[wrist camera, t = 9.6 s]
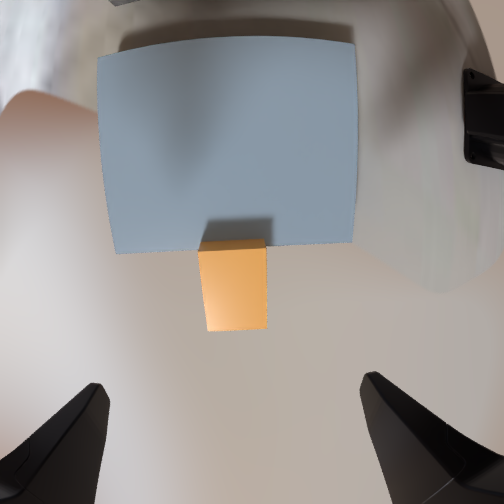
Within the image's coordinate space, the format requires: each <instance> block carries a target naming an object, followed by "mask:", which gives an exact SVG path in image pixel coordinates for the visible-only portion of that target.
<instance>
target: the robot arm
mask: <svg viewBox="0 0 504 504" xmlns="http://www.w3.org/2000/svg"><path fill="white" fill-rule="evenodd" d="M463 75H464V88H465V119H466V124H465V159H466V161H467V162H469V163H472V164H477V165H482V166H487V167H492V168H496V169H501V170H504V84H502V83H500V82H498V81H496V80H494V79H492V78H490V77H488V76H486V75H484V74H482V73H480V72H478V71H476V70H473V69H470V68H469V69H465V70H464V73H463ZM470 76H471V77H470ZM471 154H472V157H471ZM360 396H361V401H362V405H363V410H364V414H365V418H366V422H367V427H368V431H369V434H370V437H371V440H372V443H373V445H374V448H375V451H376V454H377V457H378V460H379V463H380V466H381V469H382V472H383V475H384V478H385V481H386V484H387V487H388V490H389V494H390V497H391V500H392V503H393V504H504V456H503V455H500V454H497V453H495V452H493V451H491V450H489V449H488V448H486V447H484V446H482V445H480V444H478V443H477V442H475V441H473V440H471V439H470V438H468V437H466V436H464V435H463V434H462V433H460V432H458V431H457V430H456V429H454V428H453V427H451V426H450V425H448V424H446V422H444V421H443V420H442V419H440V418H439V417H438V416H436V415H435V414H433V413H432V412H431V411H429V410H428V409H427V408H425V407H424V406H423V405H421V404H420V403H418V402H417V401H416V400H414V399H413V398H412V397H410V396H409V395H408V394H406V393H405V392H404V391H402V390H401V389H400V388H398V387H397V386H395V385H394V384H393V383H392V382H390V381H389V380H387V379H386V378H385V377H383V376H382V375H381V374H380V373H378V372H376V371H374V372H369V373H366V374H365V375H364V377H363V380H362V383H361V386H360ZM109 408H110V399H109V397H108V395H107V393H106V391H105V389H104V388H103V386H102V385H101V384H99V383H90V384H89V385H87V386H86V387H85V388H84V389H83V390H82V391H81V392H79V394H77V395H76V396H75V397H74V398H73V399H71V400H70V401H69V402H68V403H67V404H66V405H65V406H63V407H62V408H61V409H60V410H59V411H58V412H57V413H56V414H54V415H53V416H52V417H51V418H50V419H49V420H48V421H47V422H45V423H44V424H43V425H42V426H41V427H40V428H39V429H38V430H36V431H35V432H34V433H33V434H32V435H31V436H30V437H29V438H27V440H25V441H24V442H23V443H22V444H21V445H19V446H18V447H17V448H16V449H15V450H13V451H12V452H11V453H9V454H8V455H7V456H5V457H4V458H2V459H1V460H0V504H94V502H95V496H96V489H97V483H98V478H99V472H100V467H101V461H102V456H103V451H104V447H105V442H106V435H107V425H108V416H109Z"/></svg>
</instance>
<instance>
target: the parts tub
mask: <svg viewBox="0 0 504 504" xmlns="http://www.w3.org/2000/svg"><path fill="white" fill-rule="evenodd" d="M109 1H110V2H111V3H112V4H113V5H114V6H118V5H122V4H126V3H130V2H134V1H138V0H109Z"/></svg>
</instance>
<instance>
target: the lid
mask: <svg viewBox="0 0 504 504" xmlns="http://www.w3.org/2000/svg"><path fill="white" fill-rule="evenodd" d="M97 99H98V124H99V139H100V151H101V162H102V171H103V180H104V187H105V195H106V201H107V207H108V214H109V220H110V226H111V231H112V237H113V242H114V247H115V251H116V254H127V253H144V252H145V253H146V252H165V251H184V250H198V258H199V266H200V275H201V283H202V291H203V299H204V307H205V314H206V321H207V328H208V331H229V330H230V331H231V330H250V329H266V328H267V262H266V261H267V260H266V246H284V245H305V244H326V243H349V242H352V237H353V226H354V214H355V200H356V182H357V155H358V100H357V74H356V58H355V45H354V44H351V43H344V42H337V41H330V40H321V39H312V38H300V37H283V36H230V37H213V38H201V39H191V40H183V41H175V42H168V43H162V44H156V45H150V46H145V47H140V48H135V49H131V50H126V51H122V52H118V53H114V54H110V55H106V56H102V57H99V58H98V65H97Z"/></svg>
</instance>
